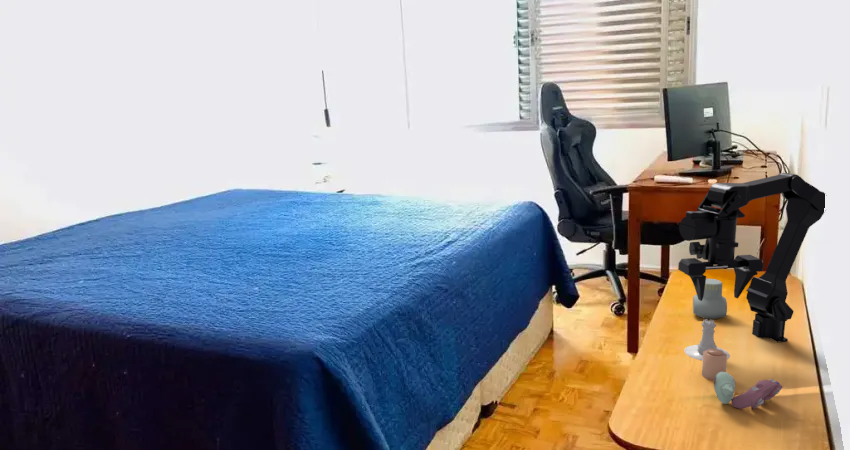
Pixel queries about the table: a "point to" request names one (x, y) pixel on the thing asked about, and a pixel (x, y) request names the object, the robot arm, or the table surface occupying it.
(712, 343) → the rook chess piece
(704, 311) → the air freshener
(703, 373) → the cup
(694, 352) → the coaster
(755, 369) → the table surface
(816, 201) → the robot arm
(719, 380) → the robot head
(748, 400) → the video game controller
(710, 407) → the table surface
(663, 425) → the table surface
